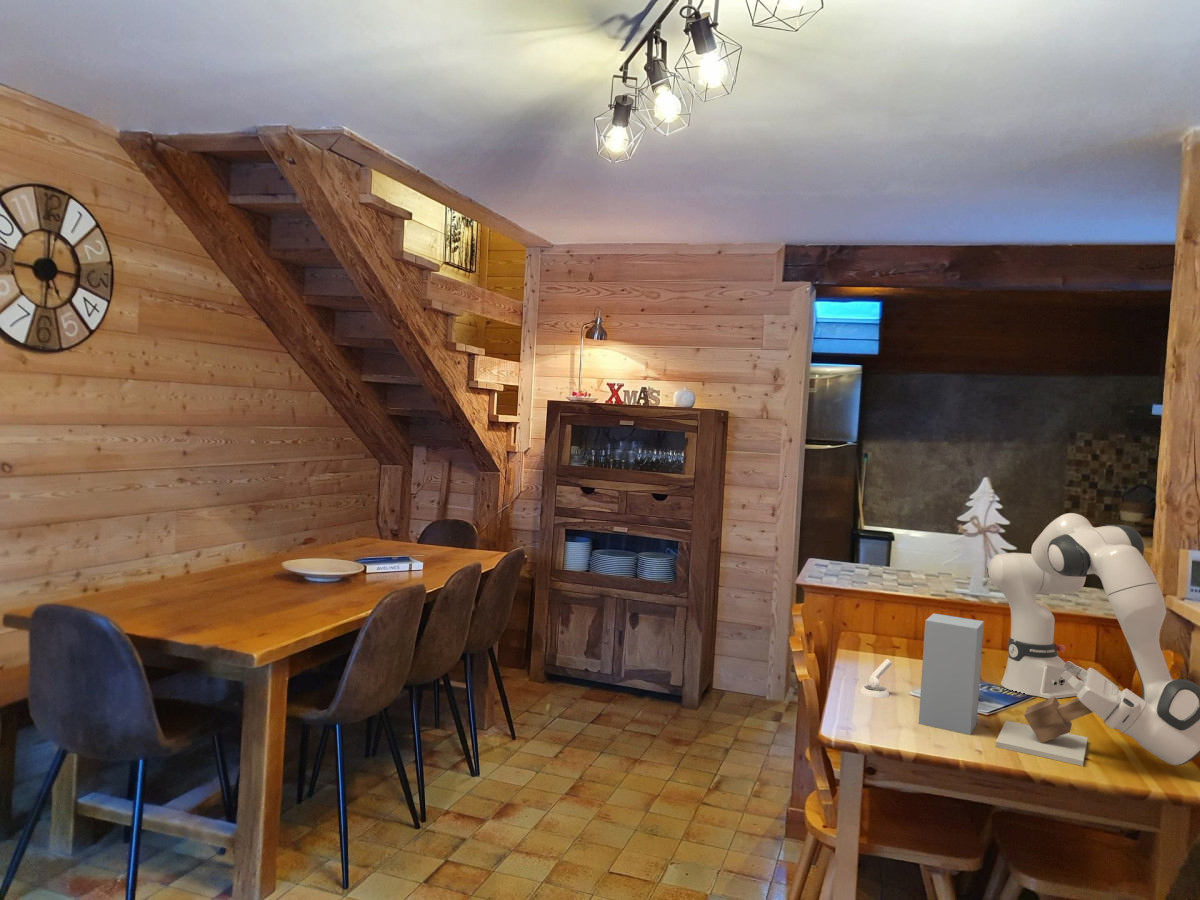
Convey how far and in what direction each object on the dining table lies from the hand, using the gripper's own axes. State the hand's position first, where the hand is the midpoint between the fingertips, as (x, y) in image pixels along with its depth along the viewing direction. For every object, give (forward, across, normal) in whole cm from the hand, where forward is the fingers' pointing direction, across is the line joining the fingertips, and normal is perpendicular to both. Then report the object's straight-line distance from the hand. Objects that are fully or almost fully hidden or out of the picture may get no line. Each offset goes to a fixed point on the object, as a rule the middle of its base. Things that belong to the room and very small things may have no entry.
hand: (1064, 668), depth 206 cm
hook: (+30, -12, +40) cm, 51 cm away
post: (+12, 0, +29) cm, 31 cm away
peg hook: (-9, 0, +9) cm, 13 cm away
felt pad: (-6, 0, +18) cm, 19 cm away
